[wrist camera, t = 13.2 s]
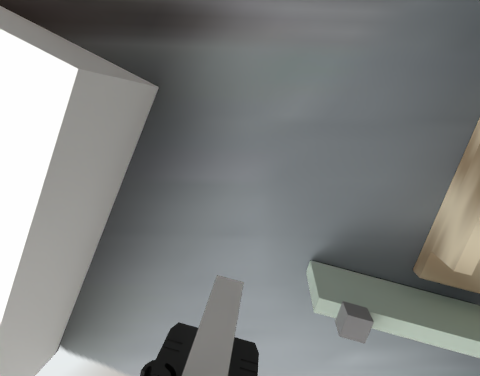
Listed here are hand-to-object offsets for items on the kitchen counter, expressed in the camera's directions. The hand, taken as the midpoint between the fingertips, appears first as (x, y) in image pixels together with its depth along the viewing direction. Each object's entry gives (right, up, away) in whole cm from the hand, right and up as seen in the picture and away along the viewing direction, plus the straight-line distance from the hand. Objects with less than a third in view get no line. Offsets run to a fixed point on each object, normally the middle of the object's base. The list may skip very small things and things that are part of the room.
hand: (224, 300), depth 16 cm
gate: (+12, -1, +5) cm, 13 cm away
